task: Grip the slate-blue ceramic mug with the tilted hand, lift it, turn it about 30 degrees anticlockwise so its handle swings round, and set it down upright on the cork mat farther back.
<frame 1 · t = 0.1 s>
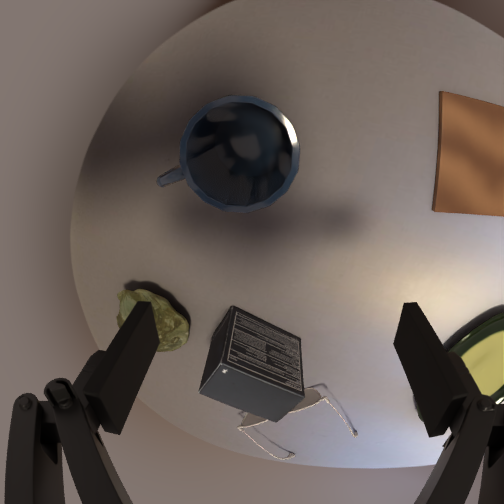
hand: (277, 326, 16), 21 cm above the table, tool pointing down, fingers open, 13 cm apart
cork mat: (483, 158, 30), on the table
small box: (256, 337, 42), on the table
eyeglasses: (304, 423, 50), on the table
seashell: (152, 315, 42), on the table
plate: (480, 368, 44), on the table
mug: (250, 141, 32), on the table
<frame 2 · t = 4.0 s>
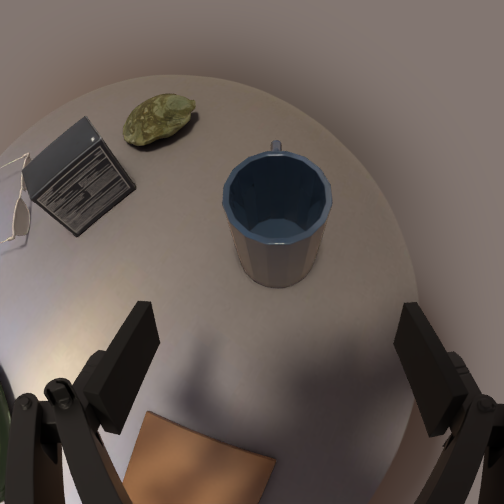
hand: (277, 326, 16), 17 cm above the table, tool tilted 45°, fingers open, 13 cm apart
cork mat: (189, 490, 26), on the table
small box: (97, 199, 40), on the table
seashell: (160, 124, 44), on the table
mug: (277, 251, 35), on the table
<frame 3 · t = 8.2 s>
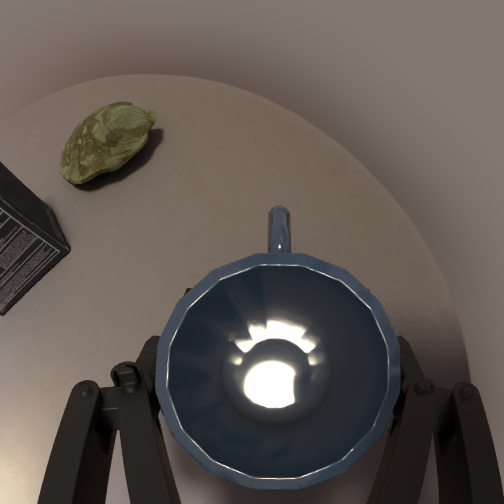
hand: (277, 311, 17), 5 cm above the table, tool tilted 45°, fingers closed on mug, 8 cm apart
small box: (25, 261, 26), on the table
seashell: (110, 147, 29), on the table
mug: (276, 372, 21), on the table, touching gripper
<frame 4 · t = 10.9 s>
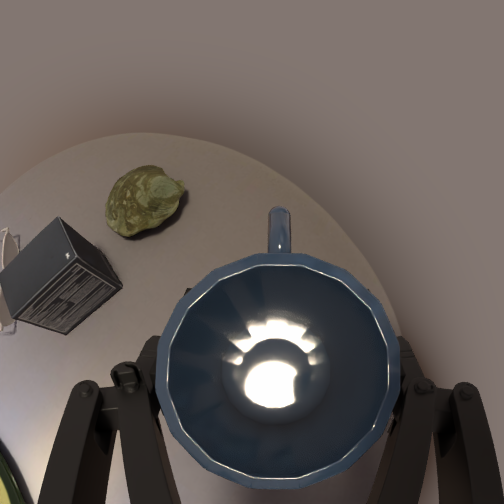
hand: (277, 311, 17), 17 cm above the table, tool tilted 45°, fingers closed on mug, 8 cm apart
small box: (83, 293, 37), on the table
seashell: (146, 203, 41), on the table
mug: (276, 372, 21), point 12 cm above the table, touching gripper
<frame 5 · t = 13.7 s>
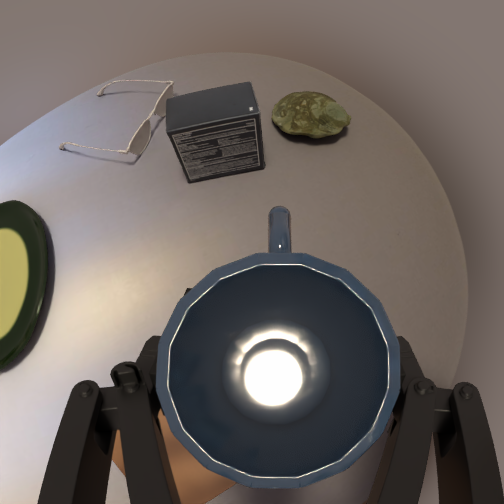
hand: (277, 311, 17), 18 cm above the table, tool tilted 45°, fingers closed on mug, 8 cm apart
cork mat: (172, 451, 30), on the table
small box: (223, 158, 43), on the table
eyeglasses: (115, 124, 48), on the table
seashell: (310, 121, 45), on the table
mug: (276, 372, 21), point 13 cm above the table, touching gripper
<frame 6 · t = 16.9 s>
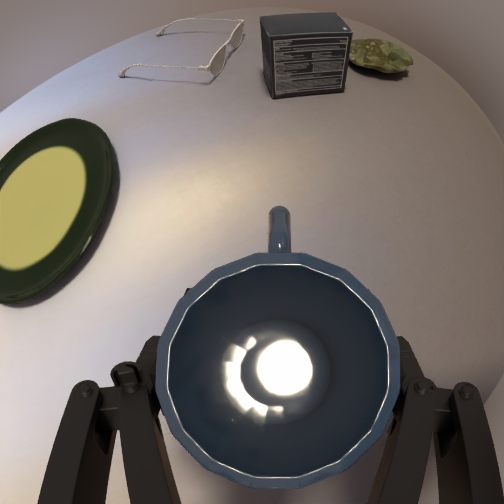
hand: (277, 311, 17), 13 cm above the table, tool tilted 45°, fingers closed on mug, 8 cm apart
small box: (303, 82, 41), on the table
eyeglasses: (181, 55, 46), on the table
seashell: (374, 62, 43), on the table
plate: (36, 208, 37), on the table
mug: (276, 372, 21), point 7 cm above the table, touching gripper
when the fingers open (6 cm above the table, at t = 19.3 s): mug stays where it is, resting on cork mat.
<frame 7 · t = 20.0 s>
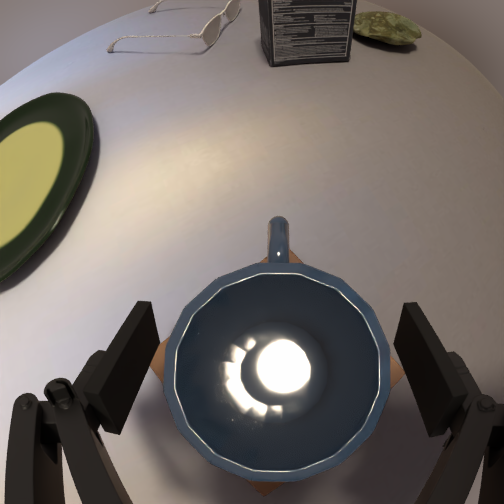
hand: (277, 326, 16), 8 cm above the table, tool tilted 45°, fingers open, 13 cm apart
cork mat: (275, 372, 23), on the table
small box: (304, 52, 36), on the table
eyeglasses: (174, 29, 41), on the table
seashell: (380, 36, 38), on the table
plate: (11, 187, 31), on the table
mug: (275, 372, 22), point 1 cm above the table, touching cork mat
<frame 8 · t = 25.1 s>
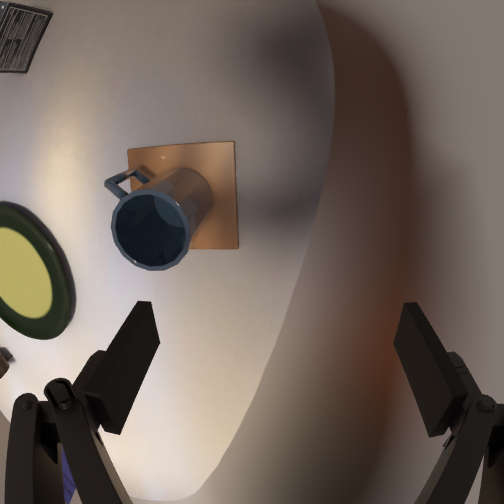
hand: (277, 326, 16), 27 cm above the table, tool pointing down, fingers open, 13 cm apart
cork mat: (183, 197, 41), on the table
small box: (28, 39, 32), on the table
cereal box: (82, 413, 65), on the table
plate: (19, 271, 49), on the table
alarm clock: (3, 353, 60), on the table
mug: (182, 199, 40), point 1 cm above the table, touching cork mat
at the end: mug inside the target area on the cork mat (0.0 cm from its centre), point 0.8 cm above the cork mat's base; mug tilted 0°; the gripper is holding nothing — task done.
